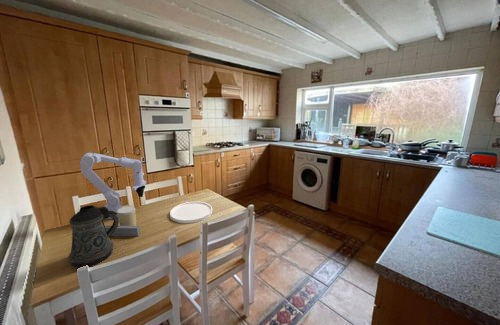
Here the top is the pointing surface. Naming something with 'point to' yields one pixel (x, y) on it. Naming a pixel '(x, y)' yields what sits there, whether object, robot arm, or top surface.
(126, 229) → the plank
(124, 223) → the coffee cup
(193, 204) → the plate
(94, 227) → the beer stein
